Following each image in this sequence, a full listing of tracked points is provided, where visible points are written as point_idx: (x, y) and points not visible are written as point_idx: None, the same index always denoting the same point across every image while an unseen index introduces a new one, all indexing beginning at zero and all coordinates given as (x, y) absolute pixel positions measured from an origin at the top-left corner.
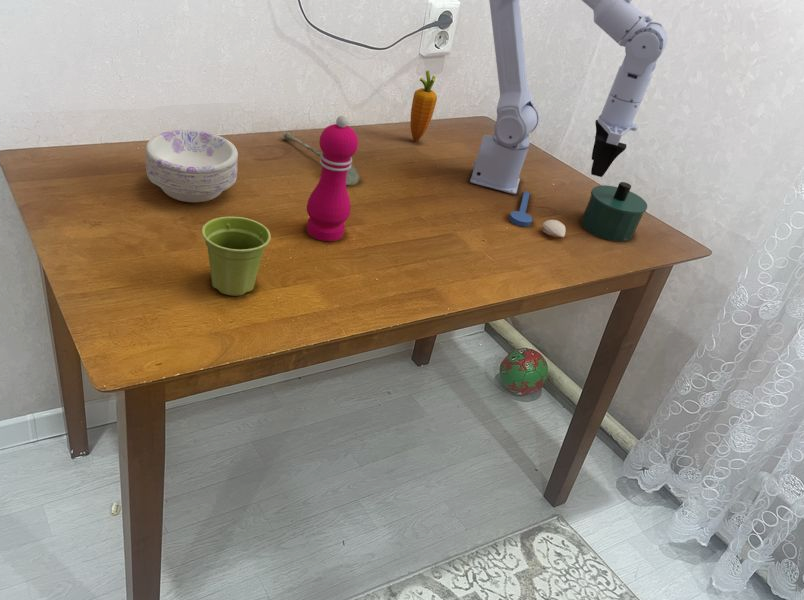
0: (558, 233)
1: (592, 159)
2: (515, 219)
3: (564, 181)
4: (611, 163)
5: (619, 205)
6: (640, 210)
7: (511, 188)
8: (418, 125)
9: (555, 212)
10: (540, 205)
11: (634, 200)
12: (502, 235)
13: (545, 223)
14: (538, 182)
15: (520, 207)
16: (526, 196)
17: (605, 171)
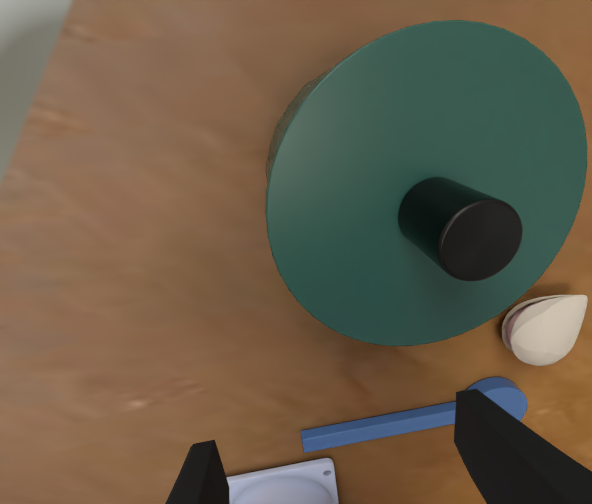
0: (583, 314)
1: (227, 485)
2: (521, 418)
3: (64, 385)
4: (585, 468)
5: (533, 196)
6: (539, 65)
7: (311, 478)
8: None
9: (361, 345)
10: (343, 390)
11: (403, 121)
12: (587, 407)
13: (553, 362)
14: (167, 439)
15: (428, 428)
16: (339, 438)
17: (512, 416)
